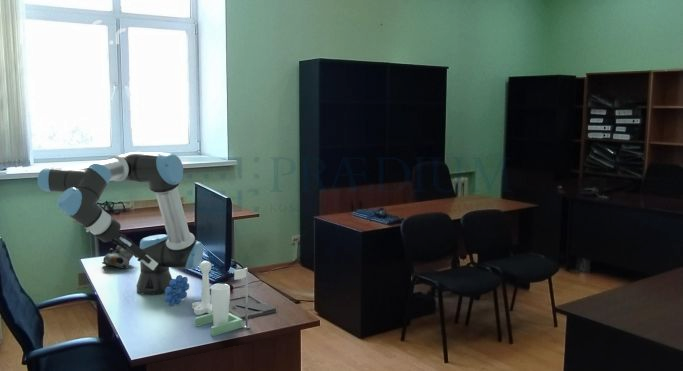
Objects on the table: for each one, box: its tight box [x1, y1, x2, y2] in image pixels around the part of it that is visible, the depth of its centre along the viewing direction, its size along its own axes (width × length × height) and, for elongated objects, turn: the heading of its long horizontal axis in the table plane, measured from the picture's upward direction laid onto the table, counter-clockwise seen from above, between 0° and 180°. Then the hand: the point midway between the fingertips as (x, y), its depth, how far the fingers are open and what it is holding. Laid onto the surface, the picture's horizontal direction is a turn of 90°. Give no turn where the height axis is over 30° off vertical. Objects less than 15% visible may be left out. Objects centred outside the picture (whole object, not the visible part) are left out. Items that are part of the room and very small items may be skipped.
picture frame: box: [229, 293, 277, 320], centre depth 229 cm, size 16×2×21 cm
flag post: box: [233, 267, 251, 330], centre depth 207 cm, size 2×6×22 cm, turn 133°
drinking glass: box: [210, 283, 231, 327], centre depth 209 cm, size 7×7×15 cm
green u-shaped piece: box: [194, 313, 243, 337], centre depth 210 cm, size 12×12×3 cm
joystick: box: [191, 260, 212, 316], centre depth 222 cm, size 11×8×20 cm
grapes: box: [164, 274, 190, 307], centre depth 230 cm, size 12×7×12 cm, turn 143°
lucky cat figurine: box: [101, 245, 134, 270], centre depth 278 cm, size 15×12×14 cm
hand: (154, 266), depth 196 cm, fingers closed
